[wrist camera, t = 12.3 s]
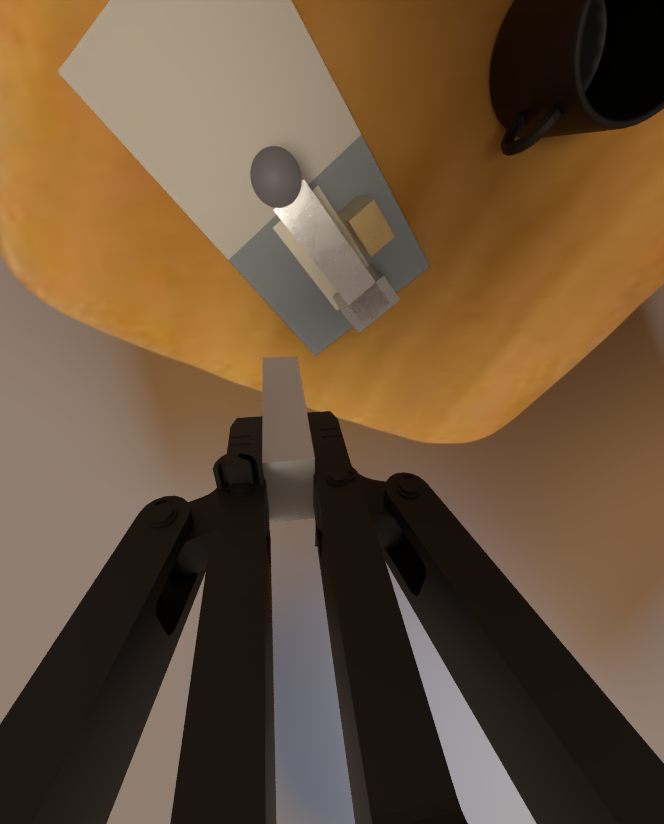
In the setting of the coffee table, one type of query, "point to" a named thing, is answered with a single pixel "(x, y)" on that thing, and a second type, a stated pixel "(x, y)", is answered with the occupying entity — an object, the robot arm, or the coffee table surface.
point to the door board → (241, 138)
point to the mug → (576, 68)
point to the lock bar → (338, 261)
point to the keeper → (366, 224)
